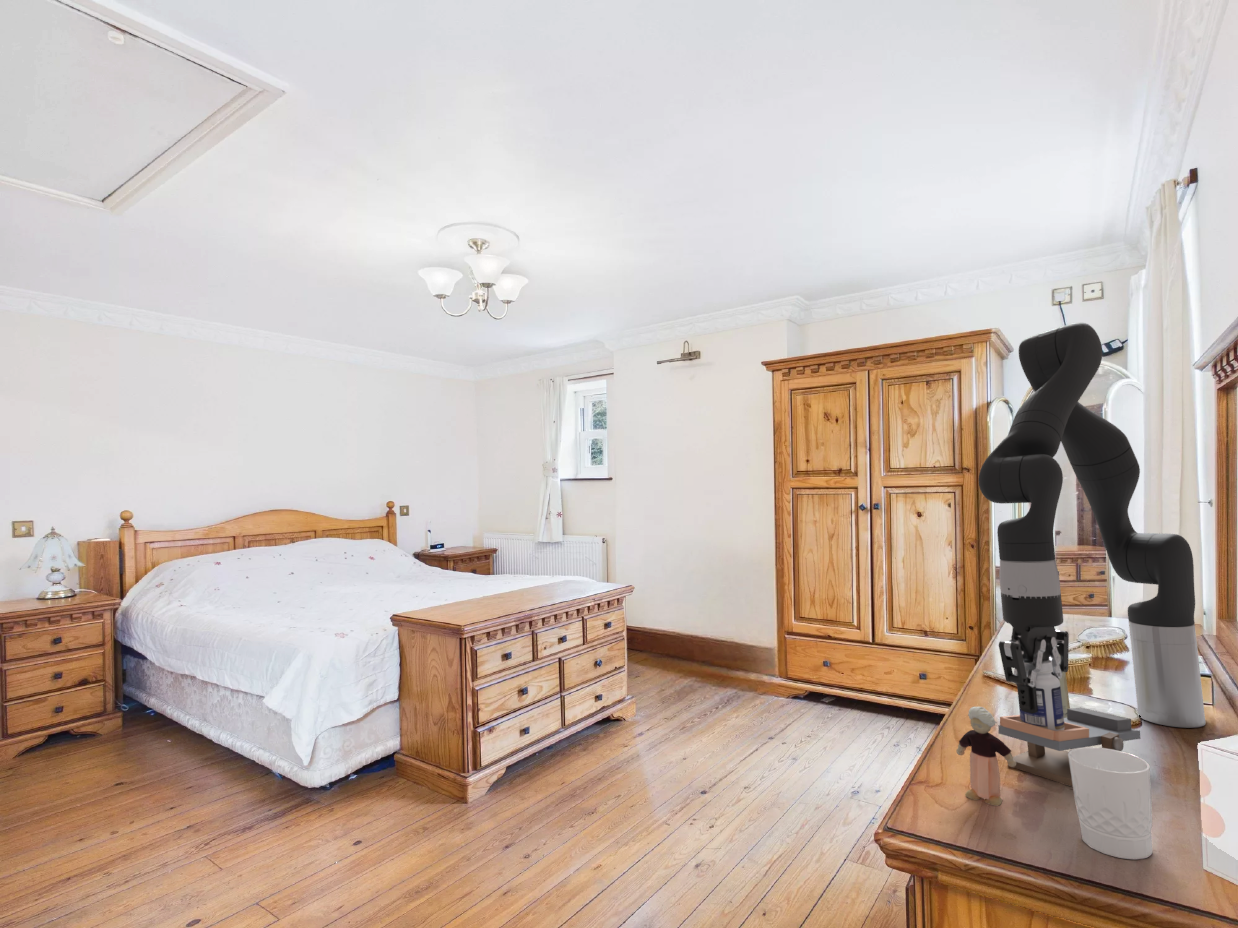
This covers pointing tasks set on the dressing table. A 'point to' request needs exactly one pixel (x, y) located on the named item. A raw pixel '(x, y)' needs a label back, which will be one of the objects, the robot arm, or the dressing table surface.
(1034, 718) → the pill bottle
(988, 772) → the grandmother figurine
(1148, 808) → the white cup
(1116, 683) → the dressing table surface
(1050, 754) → the balance stand
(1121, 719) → the balance beam
